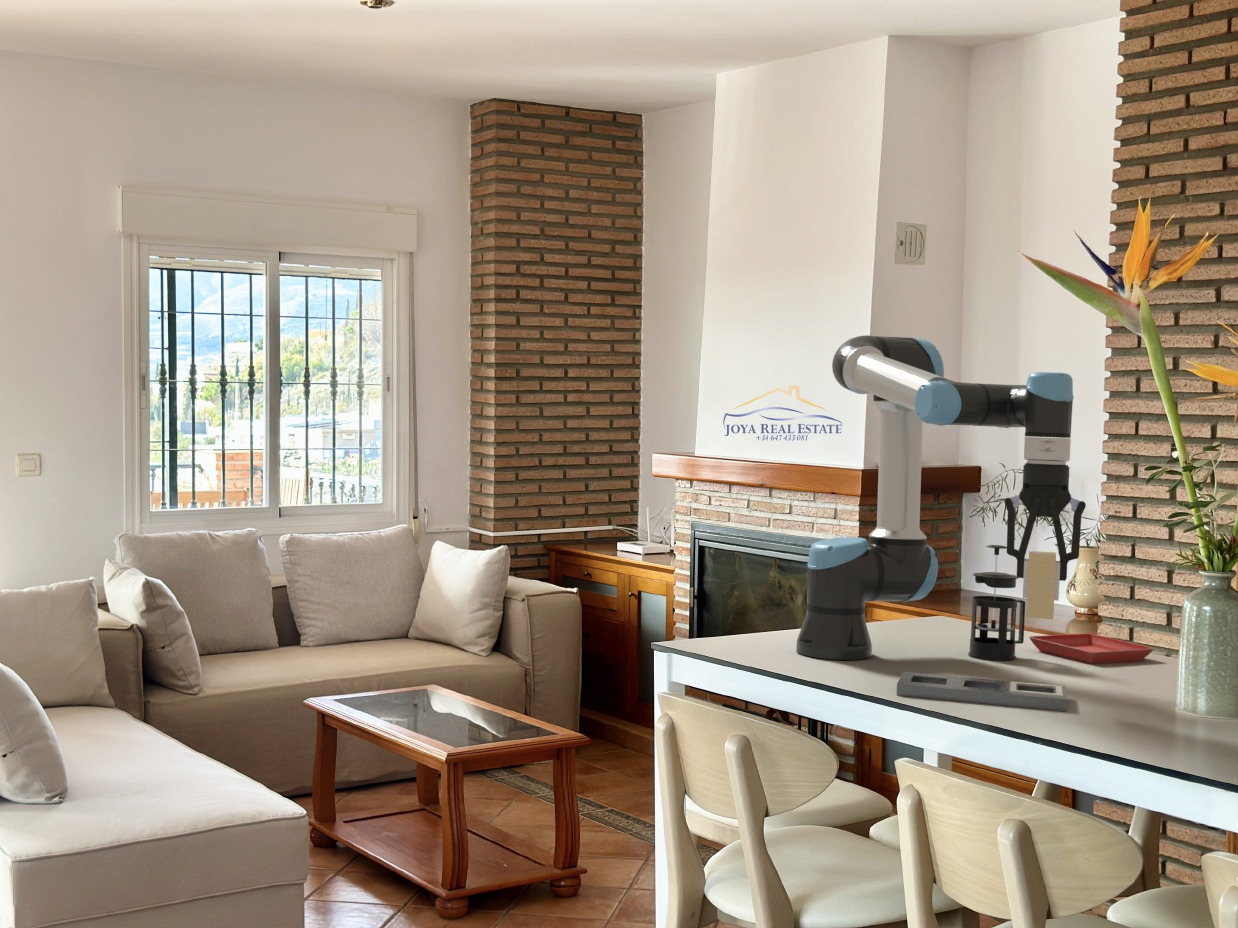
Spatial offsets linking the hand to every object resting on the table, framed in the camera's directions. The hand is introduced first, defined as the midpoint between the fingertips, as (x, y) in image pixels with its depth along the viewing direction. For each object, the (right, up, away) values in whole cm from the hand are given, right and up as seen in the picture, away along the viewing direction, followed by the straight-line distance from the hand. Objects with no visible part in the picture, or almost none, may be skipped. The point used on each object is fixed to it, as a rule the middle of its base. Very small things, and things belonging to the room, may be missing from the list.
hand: (1040, 598), depth 228 cm
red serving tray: (+26, -18, +50) cm, 59 cm away
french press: (+5, -17, +44) cm, 47 cm away
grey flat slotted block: (-9, -17, +3) cm, 20 cm away
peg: (0, -3, 0) cm, 3 cm away
